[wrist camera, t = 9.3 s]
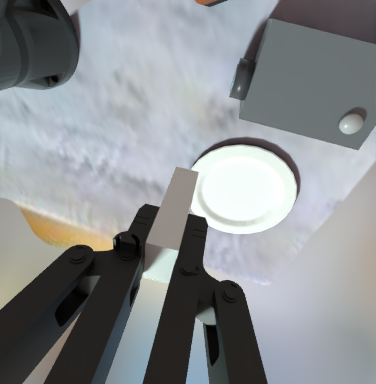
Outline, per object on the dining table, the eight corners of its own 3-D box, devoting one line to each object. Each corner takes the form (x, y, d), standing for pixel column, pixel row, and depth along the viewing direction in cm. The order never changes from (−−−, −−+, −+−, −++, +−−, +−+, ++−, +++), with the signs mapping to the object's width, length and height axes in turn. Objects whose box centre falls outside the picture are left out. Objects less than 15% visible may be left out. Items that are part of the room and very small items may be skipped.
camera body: (226, 100, 38) (223, 116, 31) (251, 14, 31) (253, 13, 25) (341, 130, 37) (360, 152, 31) (391, 49, 30) (429, 57, 24)
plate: (312, 210, 47) (314, 216, 45) (218, 239, 56) (218, 245, 55) (267, 118, 38) (268, 122, 37) (166, 171, 48) (164, 175, 47)
